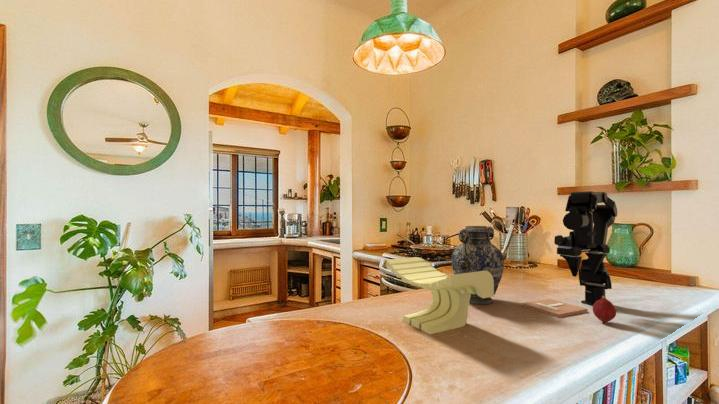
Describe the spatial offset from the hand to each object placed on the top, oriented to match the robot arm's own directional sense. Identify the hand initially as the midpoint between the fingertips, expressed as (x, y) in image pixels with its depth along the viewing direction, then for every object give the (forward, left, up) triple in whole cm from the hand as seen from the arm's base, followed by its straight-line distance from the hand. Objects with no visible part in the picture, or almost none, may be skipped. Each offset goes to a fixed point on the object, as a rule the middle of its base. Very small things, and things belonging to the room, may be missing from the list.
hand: (583, 275), depth 114 cm
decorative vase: (+23, -25, -12) cm, 36 cm away
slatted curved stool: (+52, -11, -12) cm, 55 cm away
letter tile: (+7, -6, -12) cm, 15 cm away
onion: (+6, +10, -12) cm, 17 cm away
